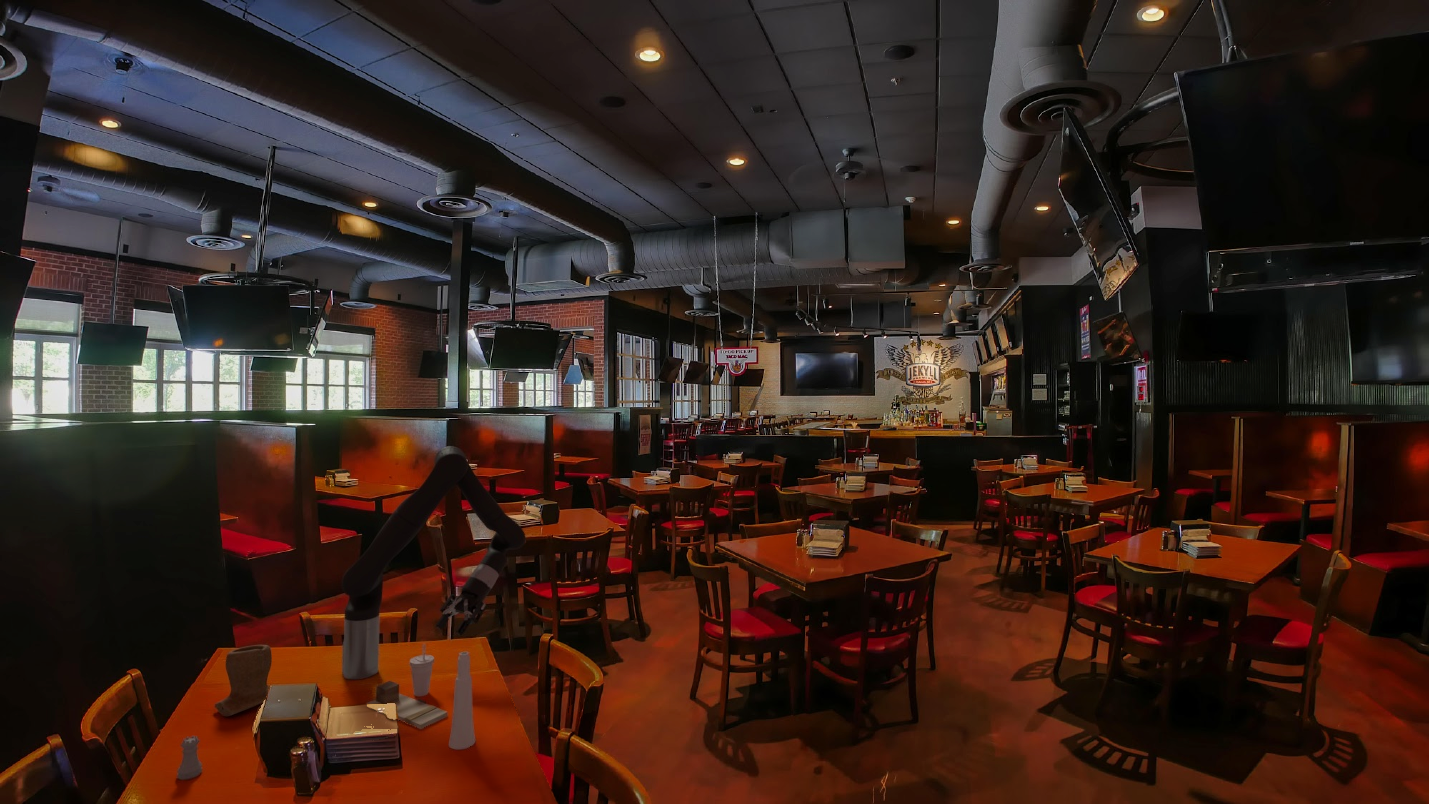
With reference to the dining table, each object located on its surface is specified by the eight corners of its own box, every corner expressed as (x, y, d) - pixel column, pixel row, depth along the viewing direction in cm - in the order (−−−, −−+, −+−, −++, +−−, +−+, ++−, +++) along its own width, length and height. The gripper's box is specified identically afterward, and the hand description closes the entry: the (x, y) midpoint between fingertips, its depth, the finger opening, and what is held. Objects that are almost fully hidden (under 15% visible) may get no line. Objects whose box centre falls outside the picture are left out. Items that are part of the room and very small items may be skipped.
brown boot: (257, 689, 187) (258, 636, 187) (288, 697, 183) (289, 642, 183) (199, 713, 173) (200, 655, 173) (231, 722, 169) (232, 663, 169)
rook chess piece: (186, 769, 148) (186, 733, 148) (207, 769, 148) (208, 733, 148) (171, 781, 143) (171, 744, 143) (193, 780, 144) (194, 743, 144)
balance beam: (363, 708, 178) (364, 689, 178) (396, 694, 186) (396, 676, 186) (417, 730, 167) (418, 710, 167) (449, 715, 175) (450, 695, 175)
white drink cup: (424, 699, 183) (425, 649, 183) (403, 697, 185) (404, 646, 185) (438, 689, 190) (439, 640, 190) (418, 687, 191) (419, 638, 191)
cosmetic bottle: (445, 741, 162) (447, 651, 162) (470, 734, 166) (472, 646, 166) (452, 752, 157) (454, 660, 157) (478, 745, 161) (480, 654, 161)
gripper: (457, 572, 206) (424, 620, 196) (490, 579, 199) (457, 629, 189) (471, 585, 210) (439, 632, 201) (503, 593, 203) (472, 642, 194)
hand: (448, 631), depth 195 cm, fingers open, 8 cm apart
